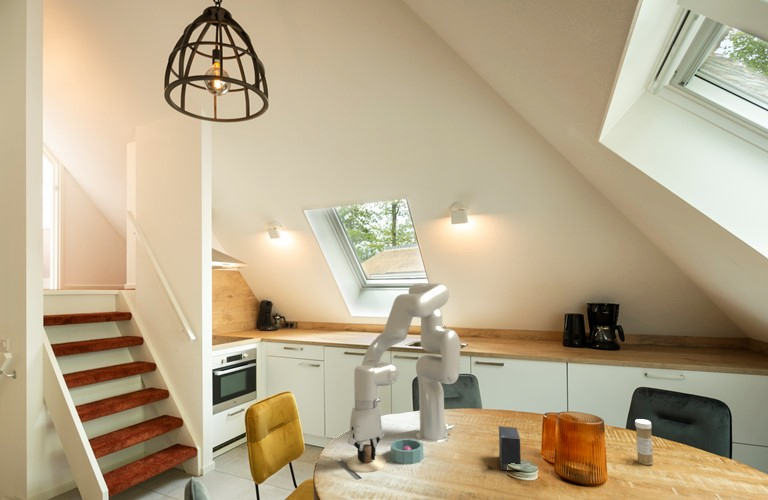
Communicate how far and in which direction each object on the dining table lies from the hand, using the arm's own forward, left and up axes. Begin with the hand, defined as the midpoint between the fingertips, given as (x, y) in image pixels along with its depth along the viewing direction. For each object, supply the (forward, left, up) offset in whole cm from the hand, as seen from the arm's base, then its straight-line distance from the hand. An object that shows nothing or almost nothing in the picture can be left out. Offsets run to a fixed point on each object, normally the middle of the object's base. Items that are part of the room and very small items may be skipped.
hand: (366, 459), depth 139 cm
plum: (-14, +3, -1) cm, 14 cm away
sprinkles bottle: (-79, +47, -2) cm, 92 cm away
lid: (0, 0, -2) cm, 2 cm away
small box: (-41, +24, -3) cm, 48 cm away
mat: (0, 0, -2) cm, 2 cm away
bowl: (-14, +3, -2) cm, 14 cm away
